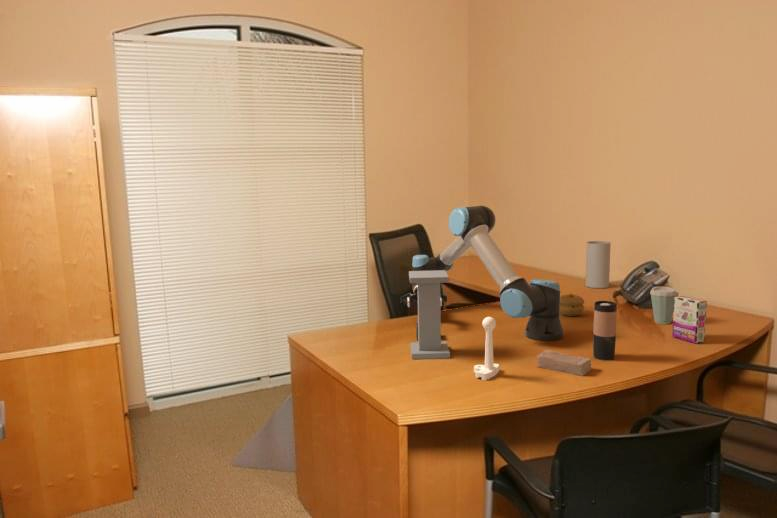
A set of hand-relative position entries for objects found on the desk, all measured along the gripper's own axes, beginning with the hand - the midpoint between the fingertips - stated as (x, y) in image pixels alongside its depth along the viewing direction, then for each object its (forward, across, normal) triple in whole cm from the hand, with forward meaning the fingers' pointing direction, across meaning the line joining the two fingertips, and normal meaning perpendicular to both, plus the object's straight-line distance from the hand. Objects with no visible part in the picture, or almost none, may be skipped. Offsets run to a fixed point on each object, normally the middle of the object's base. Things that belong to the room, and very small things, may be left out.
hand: (424, 303), depth 248 cm
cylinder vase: (-83, -102, -13) cm, 132 cm away
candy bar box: (+19, -102, -13) cm, 104 cm away
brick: (+48, -45, -13) cm, 67 cm away
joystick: (+52, -17, -13) cm, 56 cm away
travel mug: (+38, -62, -13) cm, 74 cm away
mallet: (+1, 0, -13) cm, 13 cm away
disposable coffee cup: (-6, -103, -13) cm, 104 cm away
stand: (+26, 0, -12) cm, 29 cm away
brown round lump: (-23, -69, -13) cm, 73 cm away
